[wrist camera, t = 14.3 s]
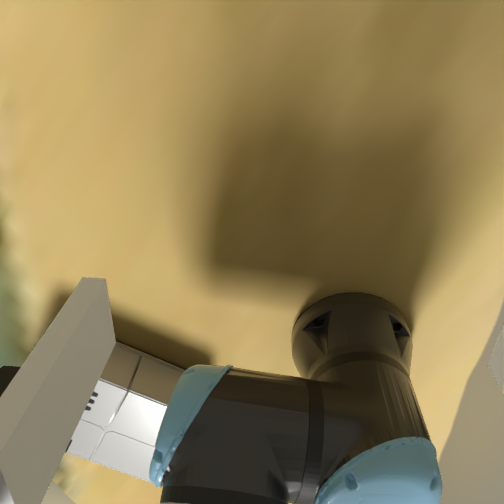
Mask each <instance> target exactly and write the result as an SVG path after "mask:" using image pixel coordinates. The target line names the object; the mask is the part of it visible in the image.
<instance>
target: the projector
mask: <svg viewBox="0 0 504 504" xmlns="http://www.w3.org/2000/svg"><path fill="white" fill-rule="evenodd" d="M185 371H186V370H184V369H182V368H180V367H177V366H175V365H172V364H170V363H168V362H165V361H163V360H160V359H158V358H155V357H153V356H151V355H148V354H146V353H143V352H141V351H139V350H136V349H134V348H131V347H129V346H127V345H124V344H122V343H119V342H117V341H116V344H115V346H114V348H113V350H112V352H111V354H110V357H109V359H108V361H107V363H106V365H105V367H104V369H103V372H102V374H101V376H100V378H99V380H98V382H97V384H96V387H95V389H94V391H93V393H92V395H91V397H90V399H89V402H88V404H87V406H86V408H85V410H84V412H83V414H82V417H81V419H80V421H79V423H78V425H77V427H76V429H75V431H74V434H73V436H72V438H71V440H70V442H69V444H68V446H67V449H66V451H65V452H66V453H69V454H72V455H75V456H78V457H80V458H83V459H86V460H89V461H92V462H94V463H97V464H100V465H103V466H105V467H108V468H111V469H114V470H117V471H119V472H122V473H125V474H128V475H131V476H133V477H136V478H139V479H142V480H145V481H147V482H150V483H151V481H150V479H149V469H150V463H151V460H152V457H153V453H154V450H155V443H156V439H157V435H158V432H159V429H160V426H161V422H162V419H163V416H164V414H165V411H166V408H167V405H168V403H169V400H170V398H171V395H172V393H173V390H174V388H175V386H176V384H177V382H178V380H179V378H180V377H181V375H182V374H183V373H184V372H185Z"/></svg>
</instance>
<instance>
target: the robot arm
mask: <svg viewBox="0 0 504 504" xmlns="http://www.w3.org/2000/svg"><path fill="white" fill-rule="evenodd" d="M115 344H116V340H115V334H114V327H113V321H112V315H111V309H110V302H109V296H108V290H107V283H106V279H103V278H85V277H83V278H82V279H81V281H80V282H79V284H78V285H77V286H76V288H75V289H74V291H73V292H72V294H71V295H70V297H69V298H68V300H67V301H66V302H65V304H64V305H63V307H62V308H61V310H60V311H59V313H58V314H57V316H56V317H55V318H54V320H53V321H52V323H51V324H50V326H49V327H48V329H47V330H46V332H45V333H44V334H43V336H42V337H41V339H40V340H39V342H38V343H37V345H36V346H35V348H34V349H33V350H32V352H31V353H30V355H29V356H28V358H27V359H26V361H25V362H24V363H23V365H22V366H21V367H14V366H3V367H1V368H0V504H41V502H42V500H43V498H44V496H45V494H46V491H47V489H48V487H49V485H50V483H51V481H52V479H53V476H54V474H55V472H56V470H57V468H58V466H59V464H60V461H61V459H62V457H63V455H64V453H65V451H66V449H67V446H68V444H69V442H70V440H71V438H72V436H73V434H74V431H75V429H76V427H77V425H78V423H79V421H80V419H81V417H82V414H83V412H84V410H85V408H86V406H87V404H88V402H89V399H90V397H91V395H92V393H93V391H94V389H95V387H96V384H97V382H98V380H99V378H100V376H101V374H102V372H103V369H104V367H105V365H106V363H107V361H108V359H109V357H110V354H111V352H112V350H113V348H114V346H115ZM292 356H293V360H294V363H295V366H296V368H297V370H298V372H299V374H300V376H301V377H302V378H300V377H293V376H287V375H280V374H273V373H266V372H259V371H252V370H246V369H240V368H234V367H233V366H231V365H227V366H214V365H203V364H198V365H194V366H191V367H189V368H188V369H187V370H186V371H185V372H184V373H183V374H182V375H181V377H180V378H179V380H178V382H177V384H176V386H175V388H174V390H173V393H172V395H171V398H170V400H169V403H168V405H167V408H166V411H165V414H164V416H163V419H162V422H161V426H160V429H159V432H158V435H157V439H156V443H155V450H154V453H153V457H152V460H151V463H150V469H149V479H150V481H151V483H153V484H155V485H156V487H162V486H163V490H162V495H161V500H160V504H288V503H292V504H439V502H440V499H441V495H442V480H441V475H440V471H439V466H438V462H437V458H436V457H437V455H436V449H435V447H434V445H433V444H432V442H431V439H430V436H429V433H428V430H427V428H426V425H425V422H424V419H423V416H422V413H421V410H420V407H419V404H418V401H417V398H416V395H415V392H414V389H413V387H412V384H411V381H410V377H409V375H410V366H411V357H412V338H411V334H410V331H409V328H408V325H407V323H406V320H405V319H404V317H403V315H402V314H401V313H400V311H399V310H398V309H397V308H396V307H395V306H393V305H392V304H391V303H389V302H387V301H385V300H384V299H381V298H379V297H376V296H373V295H369V294H363V293H344V294H338V295H334V296H330V297H328V298H325V299H323V300H320V301H318V302H317V303H315V304H313V305H312V306H310V307H309V308H308V309H307V310H306V311H305V312H304V313H303V314H302V315H301V316H300V317H299V319H298V320H297V322H296V324H295V326H294V329H293V332H292ZM488 367H489V369H490V370H491V372H492V374H493V376H494V378H495V379H496V381H497V383H498V385H499V387H500V389H501V391H502V392H503V394H504V324H503V327H502V329H501V332H500V335H499V337H498V340H497V342H496V345H495V347H494V350H493V353H492V355H491V358H490V360H489V363H488Z"/></svg>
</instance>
